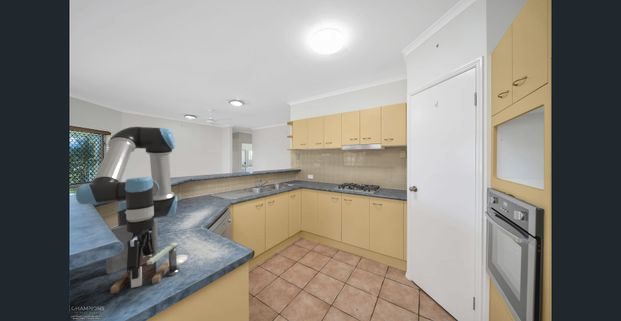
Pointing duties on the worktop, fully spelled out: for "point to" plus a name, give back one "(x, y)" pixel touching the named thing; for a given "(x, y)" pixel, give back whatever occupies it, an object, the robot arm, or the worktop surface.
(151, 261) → the bar
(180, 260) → the trivet
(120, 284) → the cradle
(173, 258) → the latch post
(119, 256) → the hip flask
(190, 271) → the worktop surface
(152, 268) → the box
